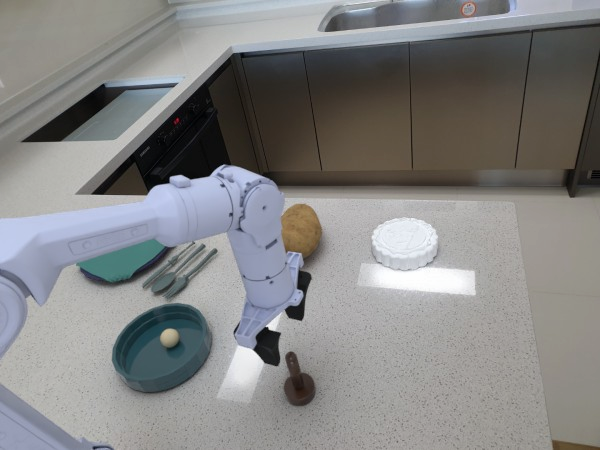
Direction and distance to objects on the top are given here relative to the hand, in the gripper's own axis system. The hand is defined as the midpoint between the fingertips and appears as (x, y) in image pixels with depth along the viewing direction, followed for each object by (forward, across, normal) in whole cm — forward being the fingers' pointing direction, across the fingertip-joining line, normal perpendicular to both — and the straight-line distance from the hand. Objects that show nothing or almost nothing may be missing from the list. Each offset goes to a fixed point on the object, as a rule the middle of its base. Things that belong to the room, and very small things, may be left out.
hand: (284, 339), depth 61 cm
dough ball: (+8, 0, +23) cm, 24 cm away
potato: (+10, +28, +12) cm, 32 cm away
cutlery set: (+10, +17, +43) cm, 48 cm away
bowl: (+10, -1, +23) cm, 25 cm away
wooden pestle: (+10, -1, -1) cm, 10 cm away
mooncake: (+10, +32, -8) cm, 35 cm away
